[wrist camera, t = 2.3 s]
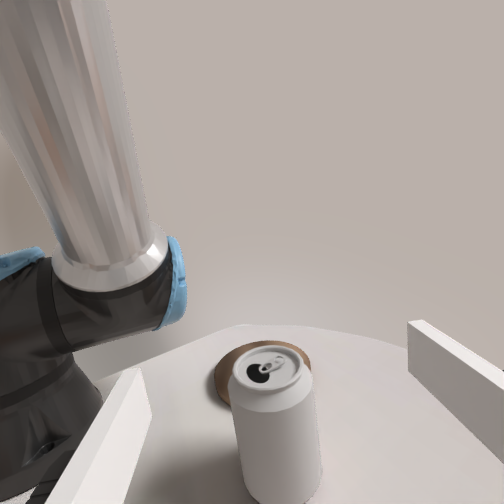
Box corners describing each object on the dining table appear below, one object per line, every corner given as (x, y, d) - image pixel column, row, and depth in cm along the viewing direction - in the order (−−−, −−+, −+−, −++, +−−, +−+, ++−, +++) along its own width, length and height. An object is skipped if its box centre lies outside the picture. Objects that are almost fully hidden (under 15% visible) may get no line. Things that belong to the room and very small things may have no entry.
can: (234, 458, 29) (215, 354, 27) (297, 429, 32) (285, 331, 29) (262, 536, 22) (240, 407, 20) (340, 491, 25) (329, 371, 22)
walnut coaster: (213, 420, 34) (211, 410, 34) (217, 356, 48) (216, 348, 48) (325, 400, 35) (324, 390, 35) (297, 342, 49) (296, 334, 48)
